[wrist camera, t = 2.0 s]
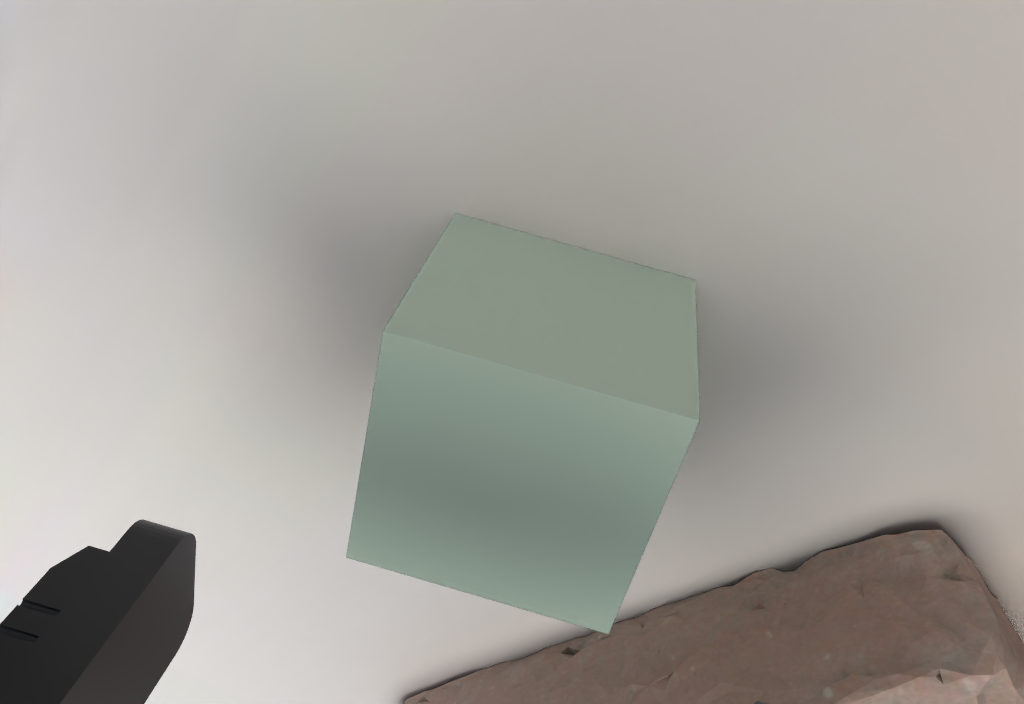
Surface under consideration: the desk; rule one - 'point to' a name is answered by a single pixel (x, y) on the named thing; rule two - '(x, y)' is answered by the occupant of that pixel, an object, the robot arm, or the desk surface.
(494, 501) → the green block
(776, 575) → the brick
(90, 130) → the desk surface
